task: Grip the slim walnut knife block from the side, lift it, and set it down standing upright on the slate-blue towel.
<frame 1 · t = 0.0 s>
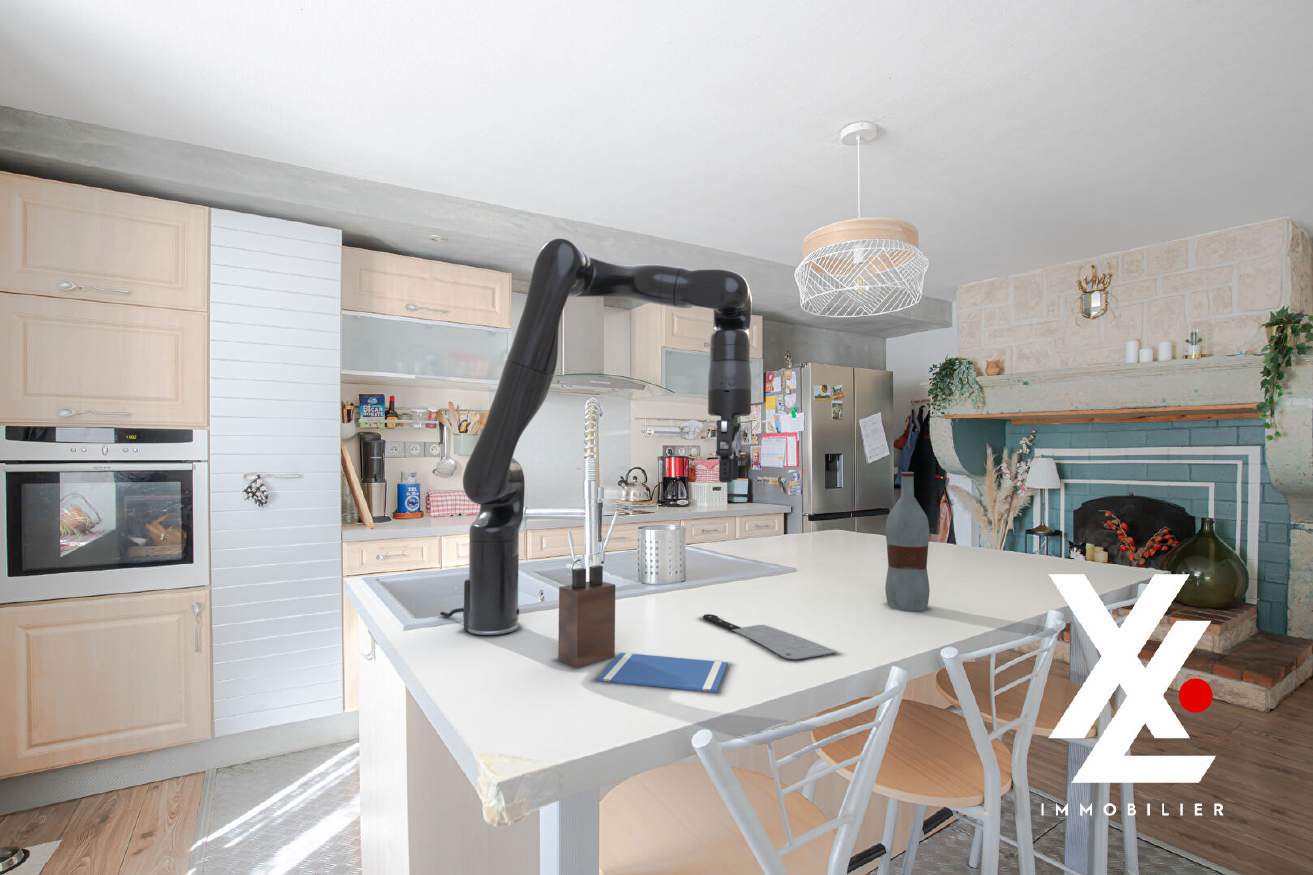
hand: (728, 480, 110), 29 cm above the kitchen island, tool pointing down, fingers open, 8 cm apart
bottle: (907, 607, 140), on the kitchen island
towel: (665, 672, 98), on the kitchen island
knife block: (586, 658, 104), on the kitchen island
cleaver: (761, 634, 118), on the kitchen island
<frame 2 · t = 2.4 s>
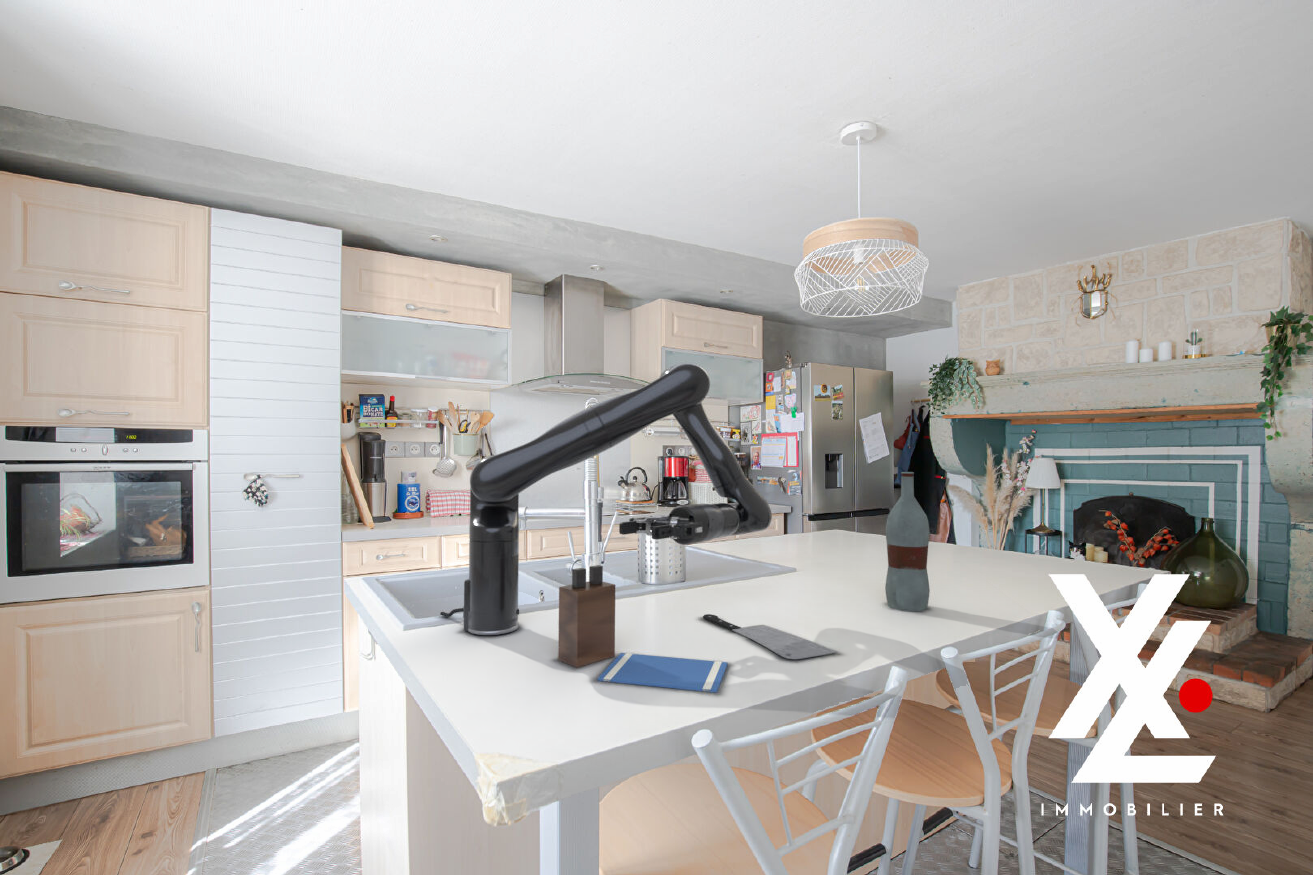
hand: (636, 530, 112), 20 cm above the kitchen island, tool horizontal, fingers open, 8 cm apart
nothing on the kitchen island moved.
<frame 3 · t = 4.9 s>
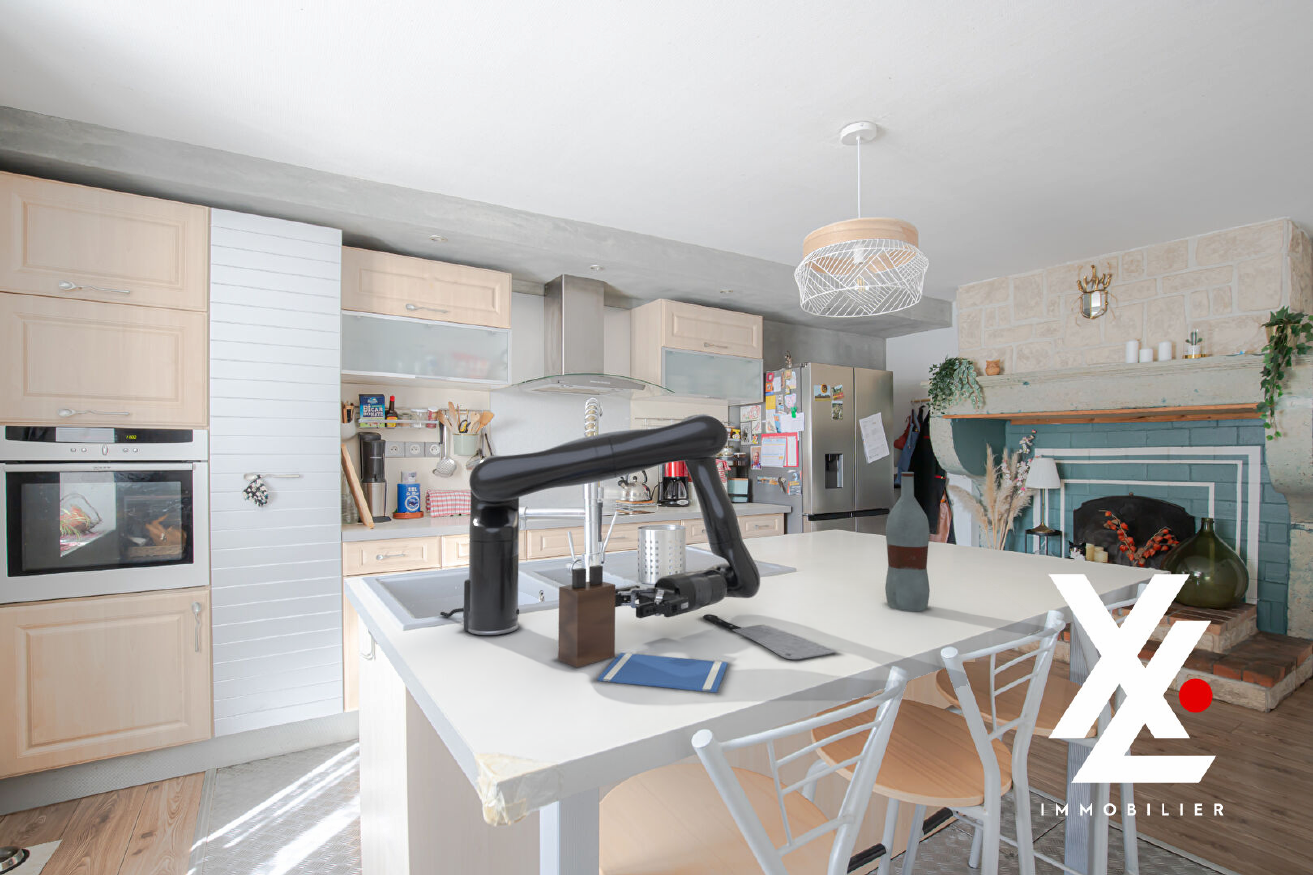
hand: (620, 607, 109), 7 cm above the kitchen island, tool horizontal, fingers open, 8 cm apart
nothing on the kitchen island moved.
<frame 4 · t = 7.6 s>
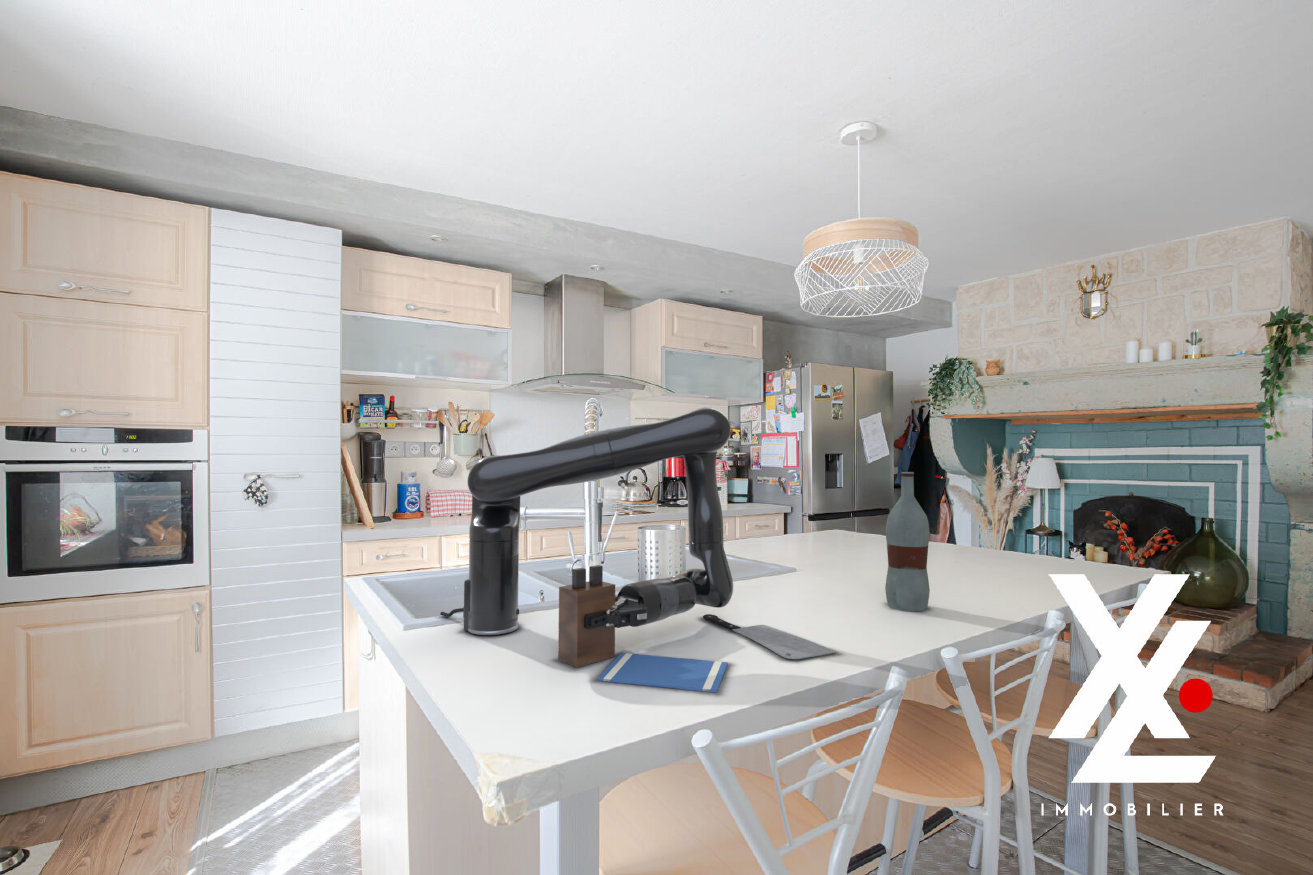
hand: (574, 618, 102), 7 cm above the kitchen island, tool horizontal, fingers closed on knife block, 5 cm apart
knife block: (586, 658, 104), on the kitchen island, touching gripper
everything else where it was.
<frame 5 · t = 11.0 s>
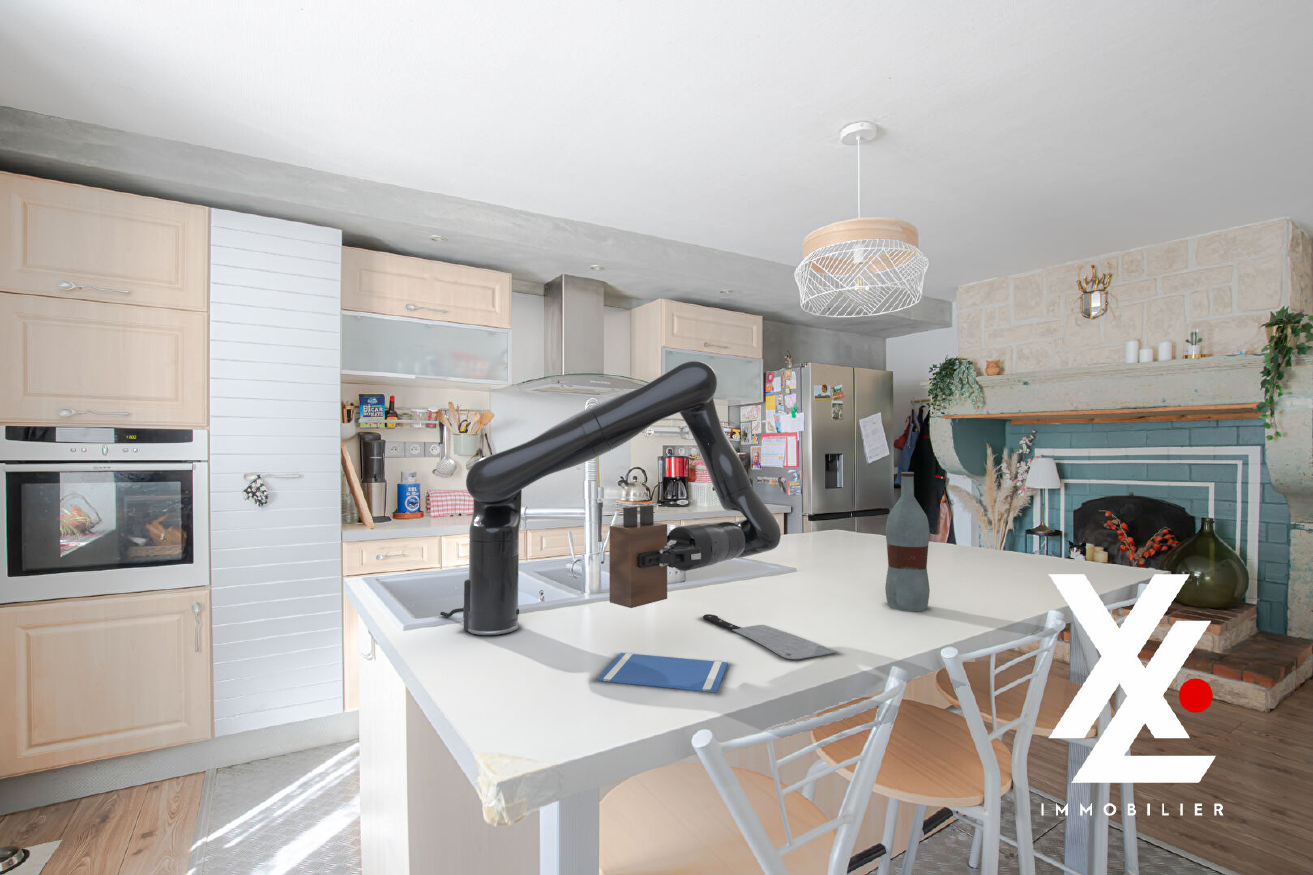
hand: (626, 558, 98), 18 cm above the kitchen island, tool horizontal, fingers closed on knife block, 5 cm apart
knife block: (638, 600, 100), point 11 cm above the kitchen island, touching gripper
everything else where it was.
when the fingers open (7 cm above the kitchen island, at t = 14.9 s): knife block stays where it is, resting on towel.
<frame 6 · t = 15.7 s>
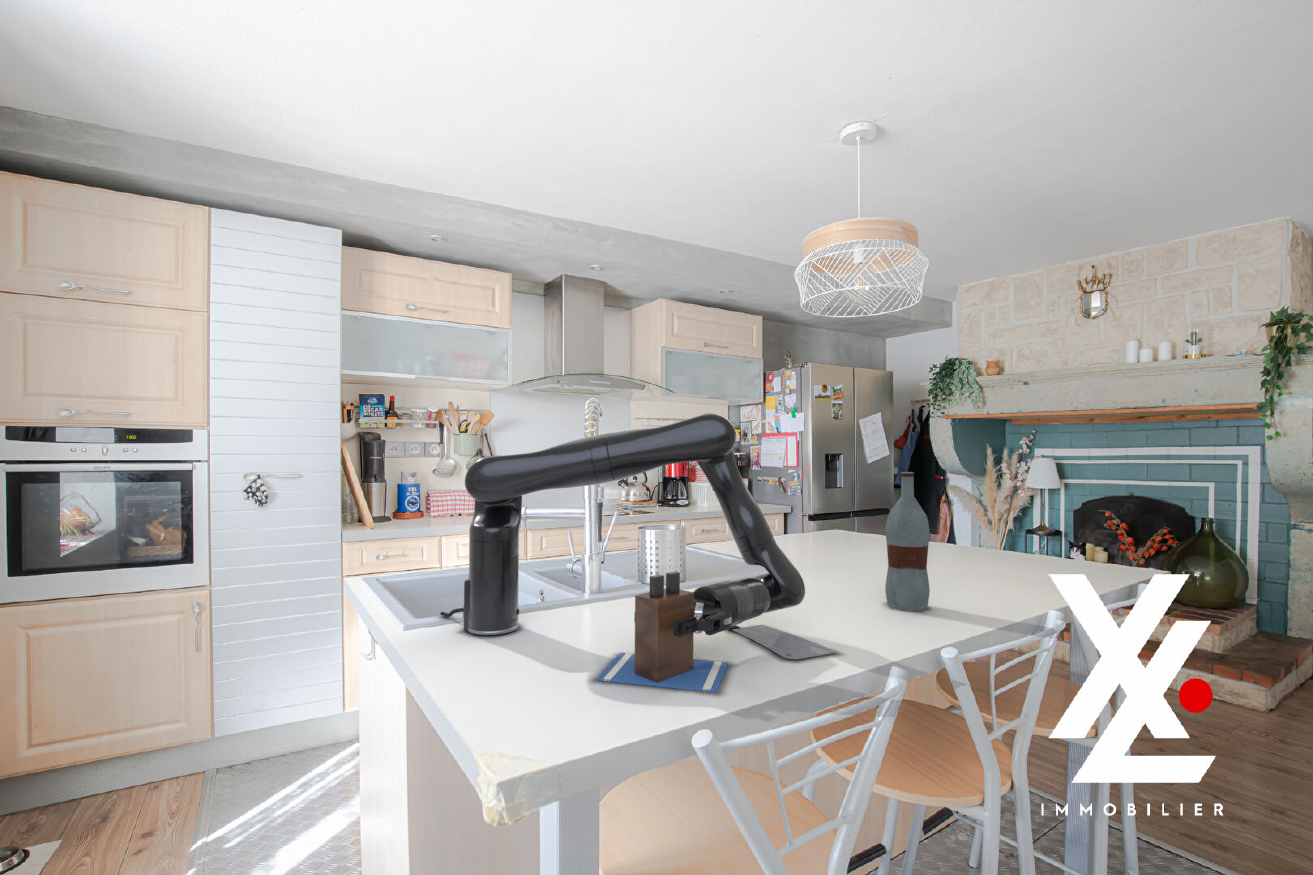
hand: (655, 623, 96), 8 cm above the kitchen island, tool horizontal, fingers open, 8 cm apart
knife block: (664, 671, 97), resting on towel
everything else where it was.
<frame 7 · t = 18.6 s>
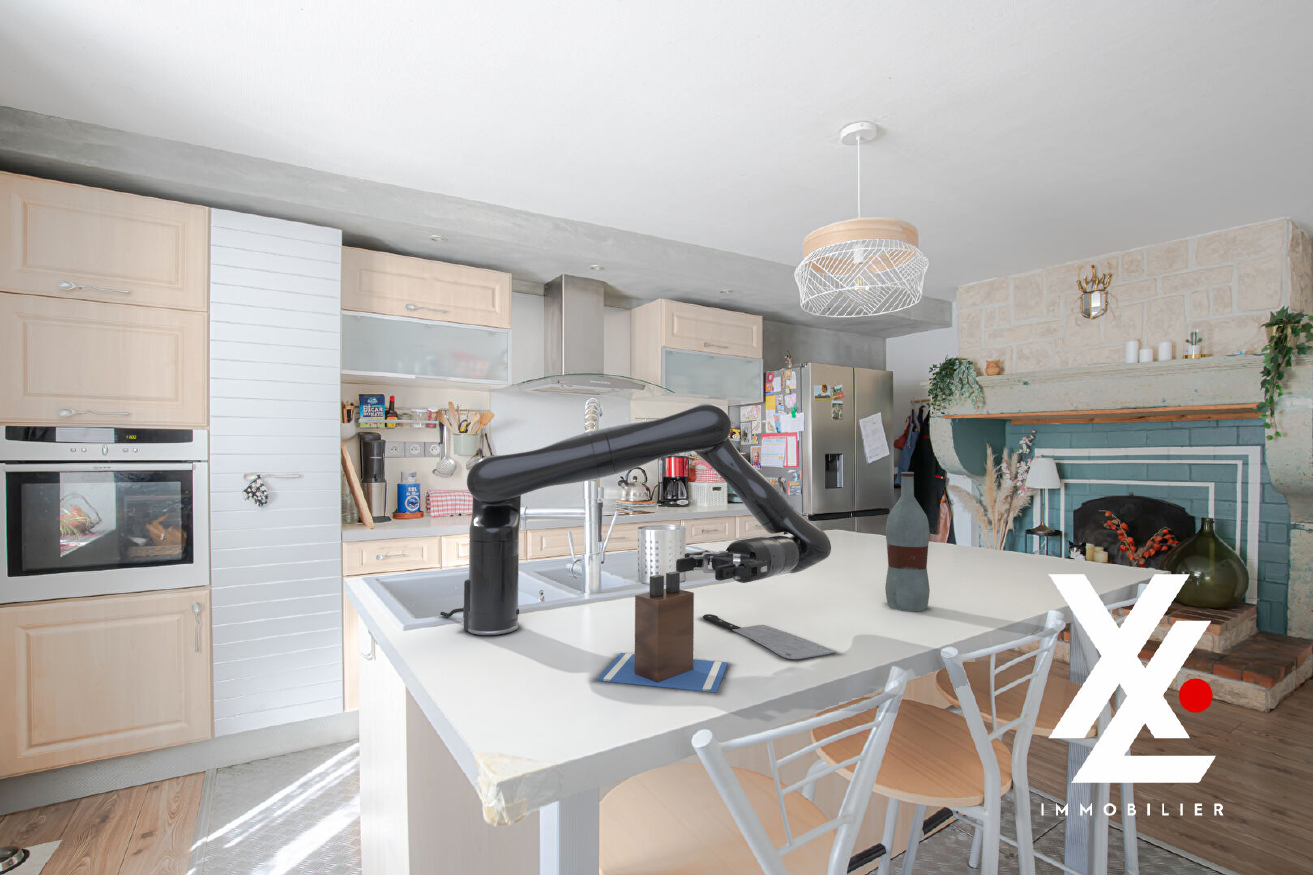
hand: (696, 569, 103), 15 cm above the kitchen island, tool horizontal, fingers open, 8 cm apart
nothing on the kitchen island moved.
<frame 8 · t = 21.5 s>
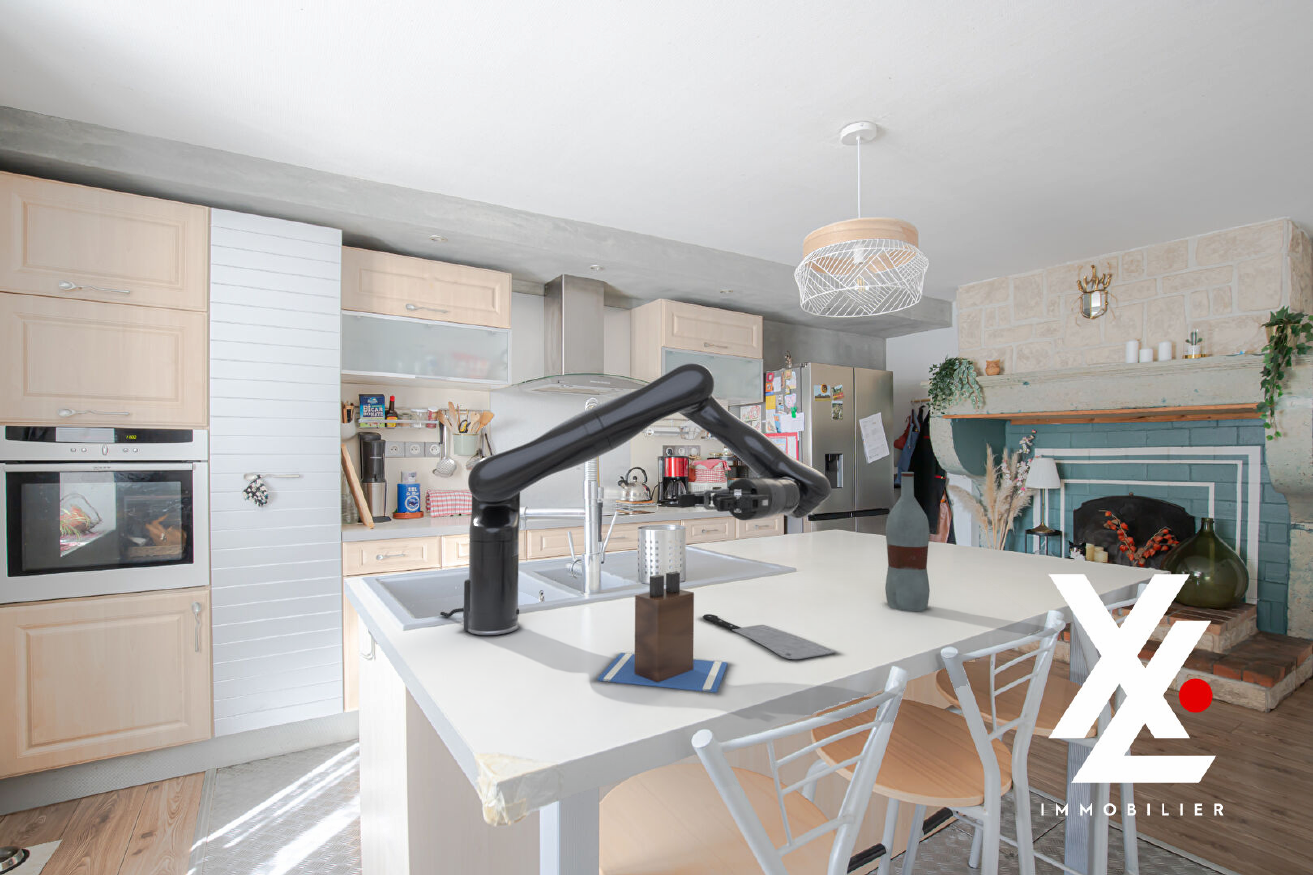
hand: (698, 503, 103), 26 cm above the kitchen island, tool horizontal, fingers open, 8 cm apart
nothing on the kitchen island moved.
at the end: knife block inside the target area (0.9 cm from its centre), resting on towel; knife block tilted 0°; the gripper is holding nothing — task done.
